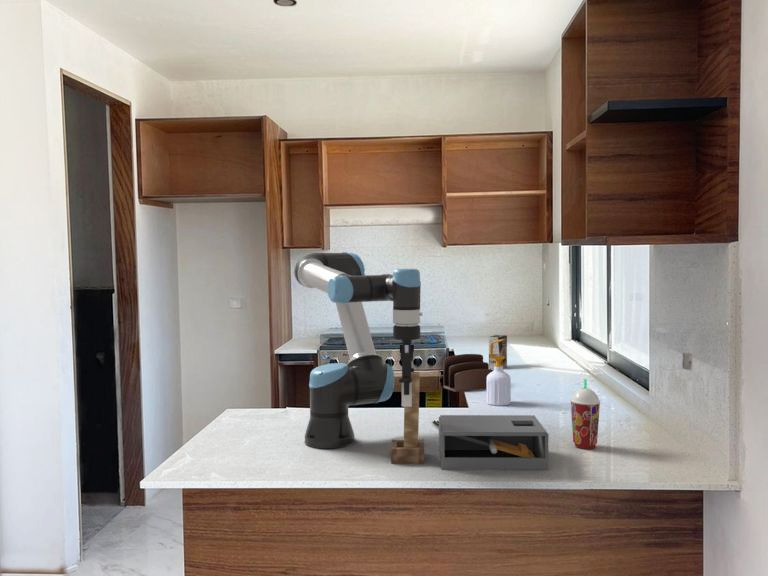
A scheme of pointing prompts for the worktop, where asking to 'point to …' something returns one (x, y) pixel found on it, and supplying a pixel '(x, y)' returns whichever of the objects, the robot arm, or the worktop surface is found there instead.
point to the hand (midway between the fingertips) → (406, 400)
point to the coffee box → (498, 349)
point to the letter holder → (465, 372)
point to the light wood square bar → (412, 415)
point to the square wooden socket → (407, 453)
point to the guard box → (498, 428)
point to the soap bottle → (498, 382)
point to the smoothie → (585, 417)
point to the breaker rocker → (500, 445)
